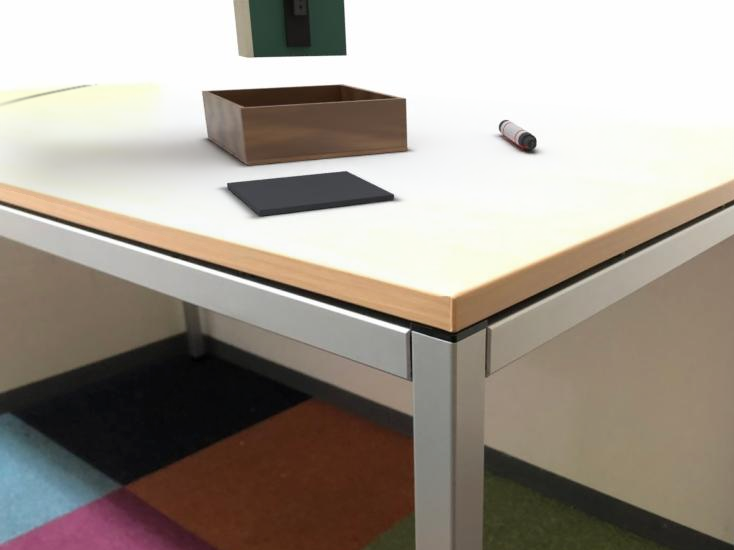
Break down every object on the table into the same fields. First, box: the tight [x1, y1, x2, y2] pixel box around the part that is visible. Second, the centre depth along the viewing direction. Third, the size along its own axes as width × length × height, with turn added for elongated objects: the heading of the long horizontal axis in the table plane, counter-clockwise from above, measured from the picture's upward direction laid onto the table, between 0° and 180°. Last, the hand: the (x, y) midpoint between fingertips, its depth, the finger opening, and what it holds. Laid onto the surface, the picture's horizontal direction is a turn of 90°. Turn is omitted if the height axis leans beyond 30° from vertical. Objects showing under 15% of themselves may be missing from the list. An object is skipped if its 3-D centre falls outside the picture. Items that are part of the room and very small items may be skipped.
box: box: [201, 83, 408, 166], centre depth 92 cm, size 21×19×6 cm
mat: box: [226, 170, 395, 217], centre depth 68 cm, size 12×12×1 cm
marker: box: [498, 119, 538, 152], centre depth 93 cm, size 15×2×2 cm, turn 8°
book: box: [232, 0, 348, 59], centre depth 87 cm, size 4×12×11 cm, turn 118°
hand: (293, 45), depth 89 cm, fingers closed on book, 4 cm apart
